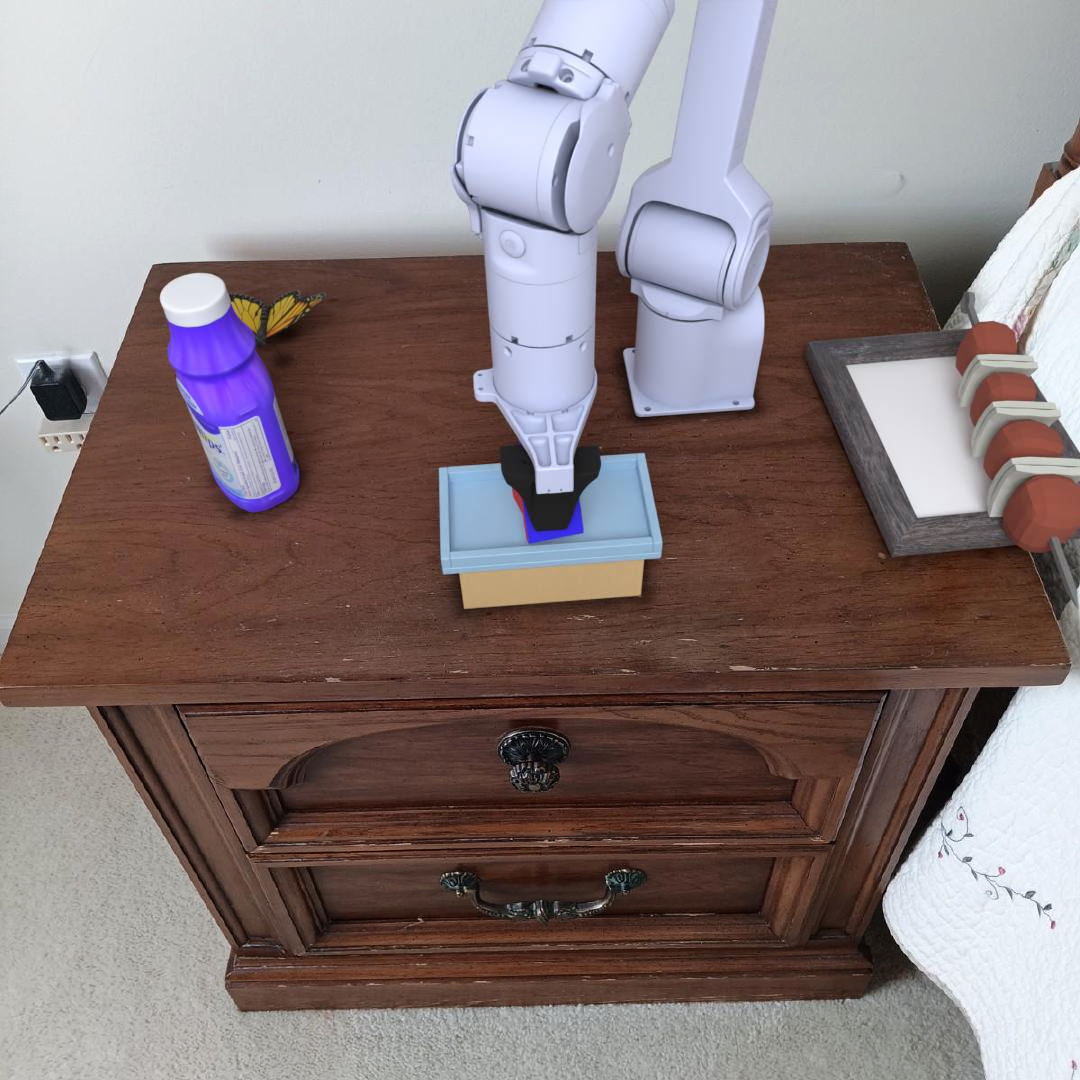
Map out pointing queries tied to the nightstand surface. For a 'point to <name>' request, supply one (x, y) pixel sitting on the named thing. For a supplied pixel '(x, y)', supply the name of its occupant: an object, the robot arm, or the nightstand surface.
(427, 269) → the nightstand surface
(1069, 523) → the skewer
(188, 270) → the nightstand surface
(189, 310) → the bottle
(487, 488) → the stand
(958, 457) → the picture frame
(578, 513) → the toy building block
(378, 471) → the nightstand surface
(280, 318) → the butterfly
